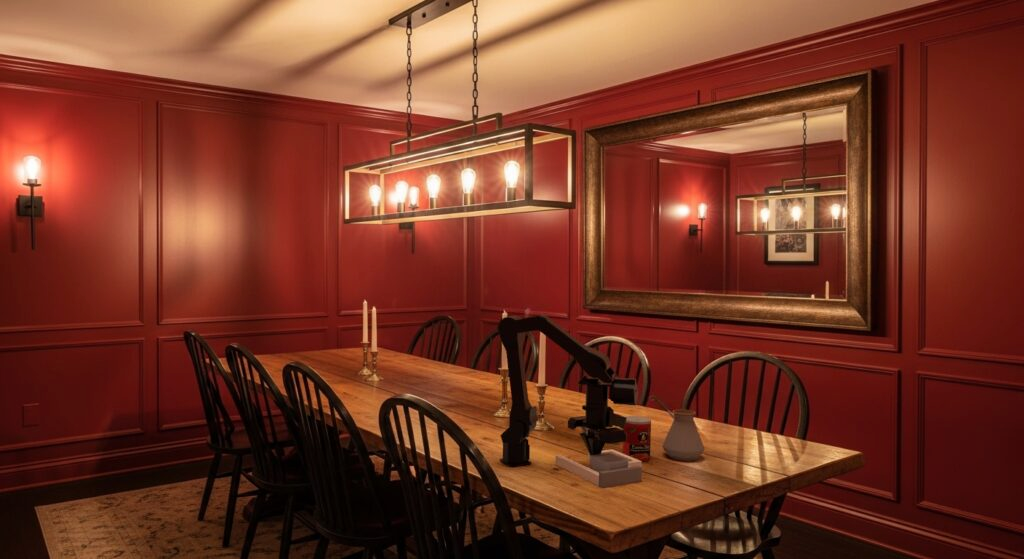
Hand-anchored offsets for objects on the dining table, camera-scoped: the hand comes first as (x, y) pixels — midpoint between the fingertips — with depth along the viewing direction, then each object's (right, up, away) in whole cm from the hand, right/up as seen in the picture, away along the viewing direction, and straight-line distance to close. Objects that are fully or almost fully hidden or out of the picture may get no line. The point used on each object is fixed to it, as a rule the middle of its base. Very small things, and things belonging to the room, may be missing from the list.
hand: (595, 462), depth 185 cm
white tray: (+3, -3, +1) cm, 4 cm away
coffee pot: (+25, -3, +20) cm, 32 cm away
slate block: (+3, -3, -5) cm, 6 cm away
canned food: (+13, -3, +14) cm, 19 cm away
